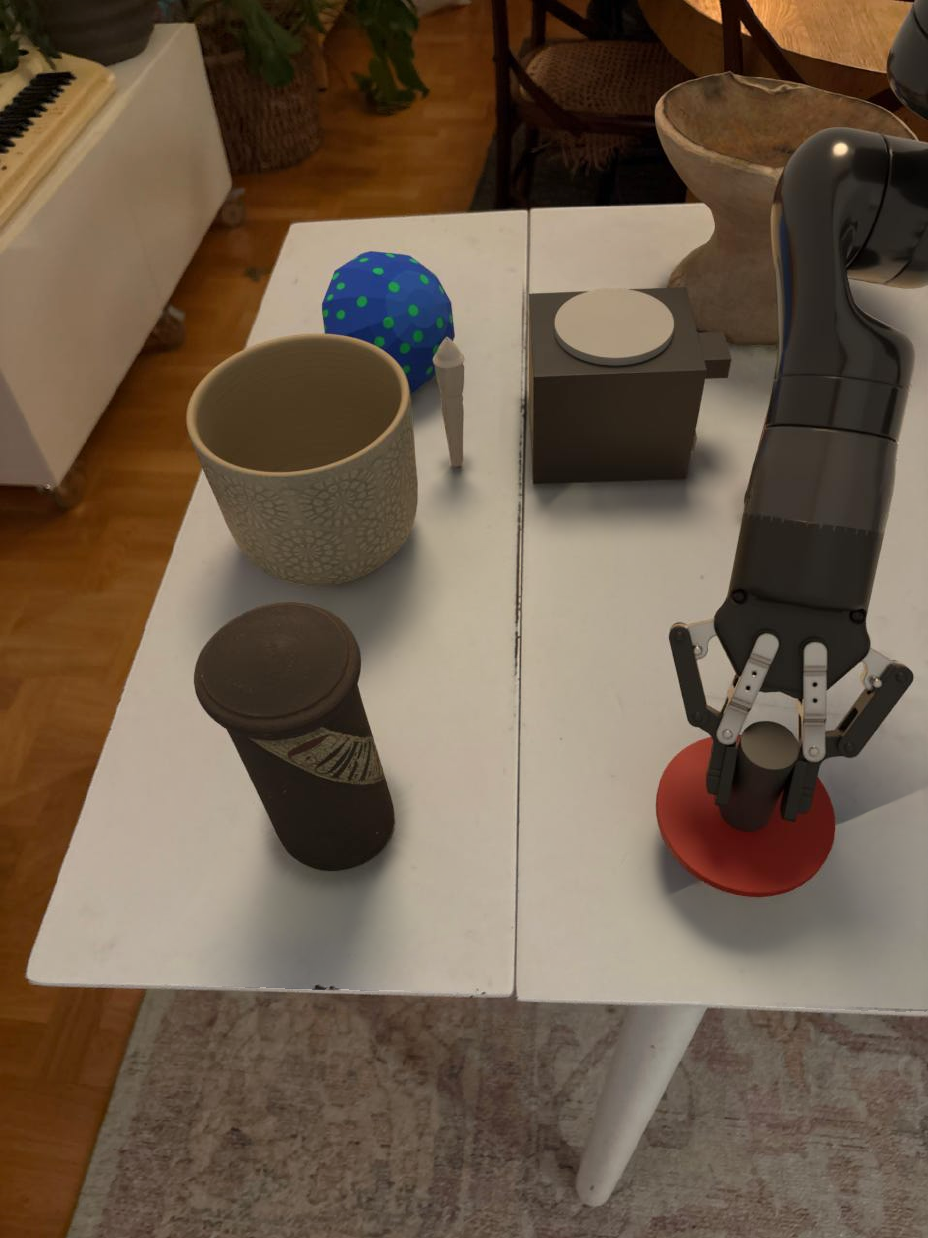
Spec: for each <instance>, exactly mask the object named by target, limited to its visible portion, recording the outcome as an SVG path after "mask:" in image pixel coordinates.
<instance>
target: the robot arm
mask: <svg viewBox="0 0 928 1238" xmlns="http://www.w3.org/2000/svg"><path fill="white" fill-rule="evenodd" d="M885 70H886V78H887V82H888V85H889V87H890V89H891V91H892V93H893V94H894V95H895V97H896V98H897V99H898V101H899V102H900V103H901V104H902V105H903V106H905V107H906V108H907V109H908V110H910V111H911V112H912V113H914V114H915V115H917V116H918V117H919V118H921V119H923V120H925V121H926V122H928V0H914V1H913V2H912V4H911V6H910V7H909V10H908V12H907V13H906V15H905V17H904V19H903V21H902V23H901V25H900V26H899V29H898V30H897V32H896V35H895V37H894V39H893V41H892V44H891V47H890V49H889V52H888V55H887V59H886V69H885ZM771 247H772V258H773V268H774V277H775V288H776V301H777V330H778V345H777V352H776V353H777V355H776V365H775V370H774V374H773V382H772V385H771V391H770V397H769V401H768V407H767V410H768V412H767V411H766V414H767V417H766V416H765V418H766V422H765V421H764V422H765V429H764V431H763V435H762V439H761V442H760V445H759V444H758V445H759V448H758V447H757V449H758V451H757V450H756V452H757V454H756V453H755V456H756V457H755V456H754V461H753V464H752V467H751V471H750V475H749V479H750V480H749V479H748V483H749V485H748V484H747V487H748V488H747V487H746V490H745V492H744V496H743V512H742V518H741V523H740V527H739V533H738V538H737V545H736V548H735V554H734V559H733V565H732V570H731V575H730V580H729V585H728V590H727V594H726V598H725V600H724V601H723V603H722V604H721V606H720V607H718V609H717V610H716V611H715V613H714V616H713V618H710V619H705V620H702V621H701V620H700V621H696V622H692V623H685V622H681V621H678V622H675V623H673V624H672V625H671V626H670V628H669V632H668V641H669V646H670V651H671V655H672V659H673V663H674V667H675V672H676V676H677V680H678V685H679V690H680V693H681V698H682V702H683V703H682V704H683V707H684V711H685V716H686V720H687V722H688V724H689V725H690V726H692V727H694V728H699V729H700V730H702V731H703V732H705V733H707V734H708V735H709V737H712V739H713V742H712V747H711V752H710V757H709V763H708V768H707V773H706V787H707V792H708V793H709V794H713V795H714V803H715V805H718V806H722V807H727V805H728V801H729V796H730V791H731V786H732V781H733V776H734V771H735V766H736V761H737V756H738V751H739V748H738V742H737V739H738V736H739V734H740V735H741V732H742V729H743V727H744V725H745V722H746V720H747V717H748V715H749V713H750V711H751V710H752V708H753V706H754V704H755V703H756V700H757V697H758V694H759V693H764V694H767V693H782V694H784V695H787V696H788V697H791V698H793V699H796V711H797V741H798V745H799V755H798V758H797V760H796V762H795V764H794V766H793V769H792V771H791V773H790V775H789V778H788V780H787V782H786V784H785V787H784V790H783V795H782V799H781V805H780V814H781V817H782V820H786V821H791V822H796V819H797V814H798V813H801V814H806V813H807V812H808V811H809V809H810V808H811V805H812V800H813V796H814V790H815V786H816V782H817V777H819V772H820V767H821V766H822V763H823V762H824V761H826V760H828V759H831V758H838V757H844V758H846V759H853V758H856V757H857V756H858V755H859V754H861V752H862V750H864V748H865V747H866V746H867V744H868V743H869V741H870V740H871V738H872V737H873V736H874V735H875V733H876V732H877V731H878V729H879V728H880V726H881V725H882V724H883V723H884V721H885V720H886V718H887V717H888V716H889V714H890V713H891V711H892V710H893V709H894V708H895V706H896V705H897V704H898V702H899V701H900V700H901V699H902V697H903V695H904V694H905V693H906V692H907V690H908V689H909V687H910V686H912V685H911V684H913V682H914V677H915V675H914V673H913V671H912V670H911V669H910V668H909V667H908V666H907V665H906V664H904V663H902V662H901V661H899V660H897V659H891V658H889V657H887V656H886V655H884V654H882V653H881V652H880V651H878V650H876V649H874V648H873V647H871V646H872V640H871V637H870V634H869V631H868V627H867V618H868V617H867V616H868V612H869V607H870V603H871V599H872V594H873V588H874V584H875V579H876V575H877V570H878V566H879V561H880V556H881V551H882V547H883V541H884V538H885V533H886V530H887V529H886V527H887V523H888V519H889V514H890V511H891V510H890V509H891V504H892V500H893V495H894V489H895V484H896V473H897V471H896V470H897V455H898V449H899V442H900V438H901V434H902V429H903V425H904V421H905V415H906V410H907V405H908V402H909V397H910V394H909V393H910V391H911V386H912V382H913V376H914V372H915V368H916V359H917V357H916V356H917V355H916V347H915V344H914V342H913V340H912V339H911V337H910V336H908V335H907V334H906V333H905V332H904V331H901V330H900V329H898V328H896V327H894V326H892V325H890V324H888V323H885V321H884V322H883V321H882V320H879V319H877V318H876V317H873V316H871V315H870V314H869V313H867V312H866V311H864V310H863V309H862V308H860V306H859V305H858V304H857V302H856V301H855V298H854V295H853V292H852V288H851V285H850V281H849V280H853V281H859V282H864V283H869V284H875V285H879V286H886V287H890V288H897V289H898V288H899V289H908V290H909V289H912V290H913V289H920V288H924V287H927V286H928V142H926V141H922V140H919V141H917V140H911V139H906V138H900V137H895V136H889V135H884V134H878V133H875V132H870V131H865V130H859V129H853V128H847V127H833V128H827V129H824V130H821V131H819V132H817V133H816V134H814V135H812V136H811V137H809V138H808V139H807V140H806V141H804V142H803V143H802V144H801V145H800V146H799V147H798V148H797V150H796V151H795V152H794V154H793V155H792V156H791V157H790V159H789V160H788V162H787V163H786V165H785V167H784V169H783V171H782V173H781V175H780V177H779V180H778V183H777V186H776V189H775V193H774V198H773V203H772V209H771ZM715 637H717V639H718V641H719V642H720V645H721V647H722V649H723V650H724V653H725V655H726V657H727V659H728V661H729V663H730V665H731V667H732V669H733V671H734V672H735V673H734V674H733V678H732V680H731V682H730V685H729V687H728V690H727V694H726V697H725V699H724V702H723V703H722V706H721V709H720V710H717V709H716V708H715V707H712V706H711V705H709V704H708V703H707V702H708V701H707V698H706V694H705V690H704V685H703V681H702V676H701V673H700V668H699V664H698V661H700V660H702V659H704V658H705V657H706V656H707V654H708V652H709V643H710V641H711V640H712V639H713V638H715ZM860 663H862V667H863V670H862V673H861V675H860V683H861V684H862V686H863V687H864V689H863V691H862V692H861V694H859V696H858V697H857V699H856V701H854V703H853V704H852V706H850V709H849V710H848V711H847V712H846V713H845V715H844V716H843V718H842V719H841V720H840V722H839V724H838V725H837V726H836V727H835V729H830V730H826V722H827V716H828V714H827V713H828V711H827V710H828V708H827V707H828V706H827V703H828V702H827V695H828V694H827V691H829V690H830V689H831V688H832V687H833V686H834V685H835V684H837V683H838V682H839V681H841V679H843V678H844V677H845V676H846V675H847V674H849V672H851V671H852V670H853V669H854V668H855V667H857V665H858V664H860Z"/></svg>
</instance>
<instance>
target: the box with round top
mask: <svg viewBox="0 0 928 1238" xmlns="http://www.w3.org/2000/svg"><path fill="white" fill-rule="evenodd" d="M731 365H732V355H731V351H730V348H729V344H728V341H727V340H726V337H725V333H724V332H699V331H698V330H697V328H696V324H695V320H694V316H693V312H692V308H691V304H690V300H689V296H688V292H687V288H686V287H672V288H667V287H653V288H628V289H627V288H617V287H613V288H611V287H610V288H609V287H608V288H599V289H592V290H583V291H561V292H560V291H558V292H540V293H539V292H535V293H534V292H533V293H528V417H529V435H530V457H531V458H530V459H531V476H532V478H531V479H532V485H549V484H582V483H584V484H585V483H608V482H609V483H612V482H613V483H614V482H641V481H643V482H644V481H665V480H666V481H670V480H671V481H675V480H676V481H677V480H687V479H688V474H689V469H690V462H691V459H692V458H691V457H692V453H693V452H695V451H696V446H697V442H698V433H697V425H698V421H699V415H700V409H701V405H702V398H703V393H704V390H705V389H704V388H705V382H706V380H713V379H714V380H716V379H728V378H729V374H730V370H731Z"/></svg>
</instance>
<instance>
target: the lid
mask: <svg viewBox="0 0 928 1238" xmlns="http://www.w3.org/2000/svg"><path fill="white" fill-rule="evenodd" d="M712 742H713V739H712V737H711V736H708V737H704V738H702V739H700V740H697V741H694V742H693V743H691V744H689V745H688V746H686V747H684V748H683V749H681V750H680V751H679V752H678V753H677V754H676V755H675V756H674V757H673V758H672V759H671V760H670V761H669V762H668V764H667V766H666V767H665V769H664V771H662V775H661V777H660V779H659V783H658V787H657V791H656V795H655V796H656V797H655V816H656V822H657V827H658V830H659V832H660V835H661V837H662V839H663V841H664V843H665V846H666V848H668V850H669V851H670V853H671V854H672V856H673V858H674V859H676V861H677V862H678V863H679V864H680V866H682V867H683V868H684V869H685V870H686V871H687V872H688V873H690V874H691V875H692V876H693V877H695V878H696V879H698V880H699V881H701V882H703V883H704V884H706V885H708V886H709V887H711V888H714V889H716V890H718V891H721V892H723V893H727V894H730V895H734V896H737V897H738V896H739V897H743V898H758V899H759V898H771V897H777V896H782V895H784V894H787V893H790V892H793V891H795V890H796V889H799V888H800V887H803V886H804V885H805V884H807V883H808V882H809V881H810V880H812V879H813V878H814V877H815V876H816V875H817V874H818V872H820V870H821V869H822V867H823V866H824V864H825V863H826V861H827V859H828V858H829V856H830V853H831V851H832V849H833V846H834V843H835V842H834V841H835V838H836V837H835V836H836V815H835V810H834V809H835V808H834V806H833V803H832V800H831V797H830V795H829V793H828V791H827V789H826V786H825V785H824V783H823V782H822V781H821V779H820V777H819V776H818V777H817V782H816V786H815V790H814V796H813V800H812V805H811V808H810V809H809V811H808V812H807V813H806V814H801V813H798V814H797V819H796V822H791V821H786V820H782V817H781V814H780V805H781V799H782V795H783V790H784V787H785V784H786V782H787V780H788V778H789V775H790V773H791V771H792V769H793V766H794V764H795V762H796V760H797V758H798V755H799V745H798V738H796V736H795V734H794V733H793V732H792V731H791V730H790V729H789V728H788V727H786V726H785V725H782V724H781V723H778V722H775V721H771V720H759V721H756V722H753V723H751V724H749V725H748V726H746V727H745V729H744V730H743V732H742V733H740V734H739V736H738V739H737V742H738V748H739V751H738V756H737V761H736V766H735V771H734V776H733V781H732V786H731V791H730V796H729V801H728V805H727V807H722V806H718V805H715V803H714V795H713V794H709V793H708V792H707V787H706V773H707V768H708V763H709V757H710V752H711V747H712Z"/></svg>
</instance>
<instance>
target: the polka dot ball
mask: <svg viewBox="0 0 928 1238" xmlns="http://www.w3.org/2000/svg"><path fill="white" fill-rule="evenodd" d="M321 314H322V323H323V330H324V331H323V332H324V334H335V335H343V336H348V337H352V338H356V339H360V340H363V341H366V342H368V343H370V344H373V345H375V346H377V347H379V348H380V349H382V350H384V351H385V352H386V353H388V354H389V355H390V356H391V357H393V358H394V359H395V360H396V362H397V363H398V364H399V365H400V366H401V368H402V369H403V371H404V373H405V375H406V378H407V381H408V385H409V391H410V396H411V395H412V394H414V393H415V392H417V391H418V390H419V389H420V388H422V387H423V386H425V385H426V384H427V383H429V381H431V380H432V379H434V378H436V373H435V365H434V363H433V357H434V355H435V354H436V353H437V350H438V348H439V346H440V345H441V343H442V342H443V340H444V339H445V338H446V337H448V338H449V339H451V340H452V341H453V342H454V340H455V337H456V334H455V325H454V324H455V323H454V314H453V306H452V300H451V299H450V297H449V296H448V294H447V292H446V289H445V288H444V287H443V284H442V282H441V281H440V279H439V278H438V276H437V275H436V274H435V273H434V272H433V271H431V270H430V269H429V268H427V267H426V266H424V264H422V263H420V262H419V261H418V260H416V258H414V257H412V256H411V255H409V254H405V253H404V254H403V253H394V252H386V251H385V252H383V251H375V250H369V251H366V252H361V253H360V254H358V255H356V257H354V258H352V259H350V260H349V261H348V262H346V263H344V264H343V265H341V266H340V267H338V268H337V269H335V270H334V272H333V274H332V276H331V279H330V282H329V285H328V287H327V289H326V292H325V295H324V297H323V300H322V302H321Z"/></svg>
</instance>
